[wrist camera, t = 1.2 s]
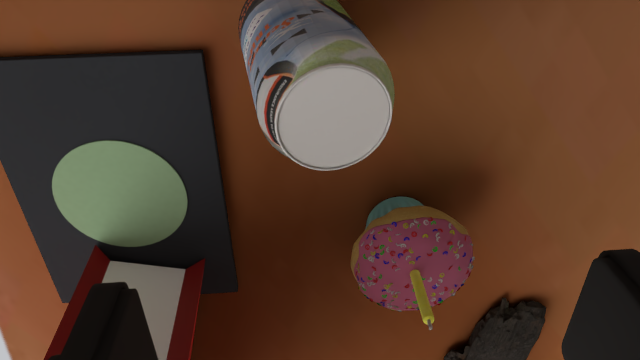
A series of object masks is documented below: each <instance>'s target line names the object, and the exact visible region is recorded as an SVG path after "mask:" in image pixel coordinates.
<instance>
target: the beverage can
mask: <svg viewBox="0 0 640 360" xmlns="http://www.w3.org/2000/svg"><path fill="white" fill-rule="evenodd" d="M238 29H239V39H240V43H241V47H242V52H243V56H244V61H245V65H246V69H247V74H248V78H249V82H250V87H251V91H252V96H253V100H254V104H255V109H256V113H257V117H258V121H259V124H260V127H261V129H262V131H263V133H264V135H265V137H266V138H267V140H268V141H269V142H270V143H271V145H272V146H273V147H274V148H275V149H277V150H278V151H279V152H280V153H281V154H283V155H285V156H287V157H288V158H290V159H292V160H293V161H295V162H296V163H298V164H300V165H301V166H304V167H307V168H310V169H315V170H326V171H329V170H338V169H342V168H345V167H349V166H351V165H353V164H356V163H358V162H359V161H361V160H363V159H364V158H366V157H367V156H368V155H370V154H371V153H372V152H373V151H374V150H375V149H376V148H377V147H378V146H379V145H380V143H381V142H382V140H383V139H384V138H385V136H386V134H387V132H388V130H389V127H390V123H391V119H392V110H393V105H394V96H395V94H394V83H393V79H392V75H391V72H390V70H389V68H388V66H387V64H386V62H385V61H384V59H383V58H382V57H381V56H380V54H379V53H378V52H377V51H376V49H375V48H374V47H373V46H372V44H371V43H370V42H369V40H368V39H367V38H366V37H365V35H364V34H363V33H362V32H361V30H360V29H359V28H358V26H357V25H356V24H355V23H354V21H353V20H352V19H351V18H350V16H349V15H348V14H347V12H346V11H345V10H344V9H343V7H342V6H341V5H340V4H339V2H338V1H337V0H247V1H246V2H245V4H244V7H243V9H242V11H241V15H240V19H239V28H238Z"/></svg>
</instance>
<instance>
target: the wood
mask: <svg viewBox="0 0 640 360" xmlns="http://www.w3.org/2000/svg"><path fill="white" fill-rule="evenodd" d="M545 313H546V307H545V306H543V305H542V304H540V303H539V302H535V301H533V300H532V301H529V302H524V301H521V302H520V303H519V304H518V305H517V306H516V307H515V308H512V307H511V308H509V301H508V302H507V300H506V298H502V302H501V305H500V306H499V307H494V308H491V309H490V311H489V312H488V314H487V315H486V316H485V318H484V319H482V320H481V321H480V322H478V323H477V324H476V326H475V328H474V330H473V332H472V334H471V336H470V338H469V341H468V344H467V346H465V349H464V351H461V350H459V351H457V350H454V349H452V350H451V351H450V352H449V353H447V354H446V356H445V357H444V360H526V359H527V357H528V355H529V353H530V351H531V349H532V347H533V346H534V344H535V342H536V341H537V339H538V338H539V335H540V332H541V330H542V327H543V324H544V322H545V318H544V316H545Z"/></svg>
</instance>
